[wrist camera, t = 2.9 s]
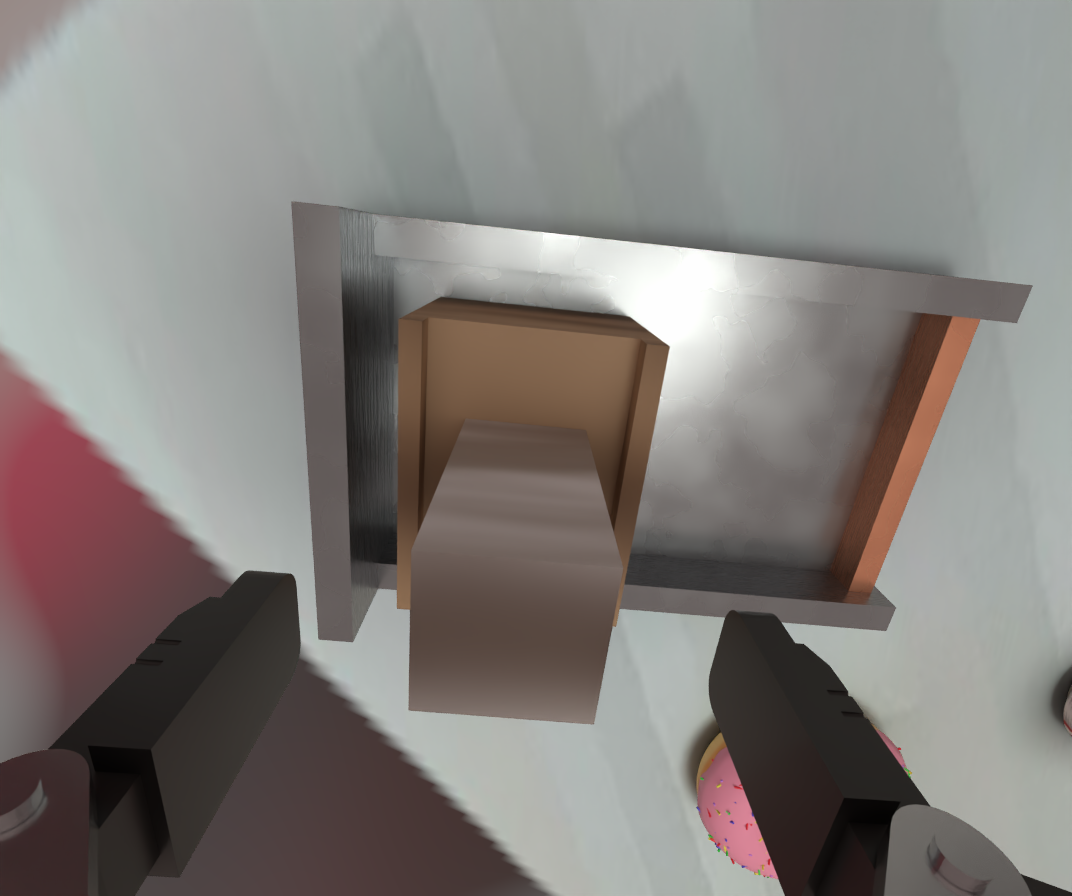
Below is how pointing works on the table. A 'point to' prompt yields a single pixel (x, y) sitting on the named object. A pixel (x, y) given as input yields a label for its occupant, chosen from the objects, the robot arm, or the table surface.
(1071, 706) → the soda can
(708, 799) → the doughnut
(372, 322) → the bay
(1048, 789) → the table surface
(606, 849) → the table surface
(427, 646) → the crate
